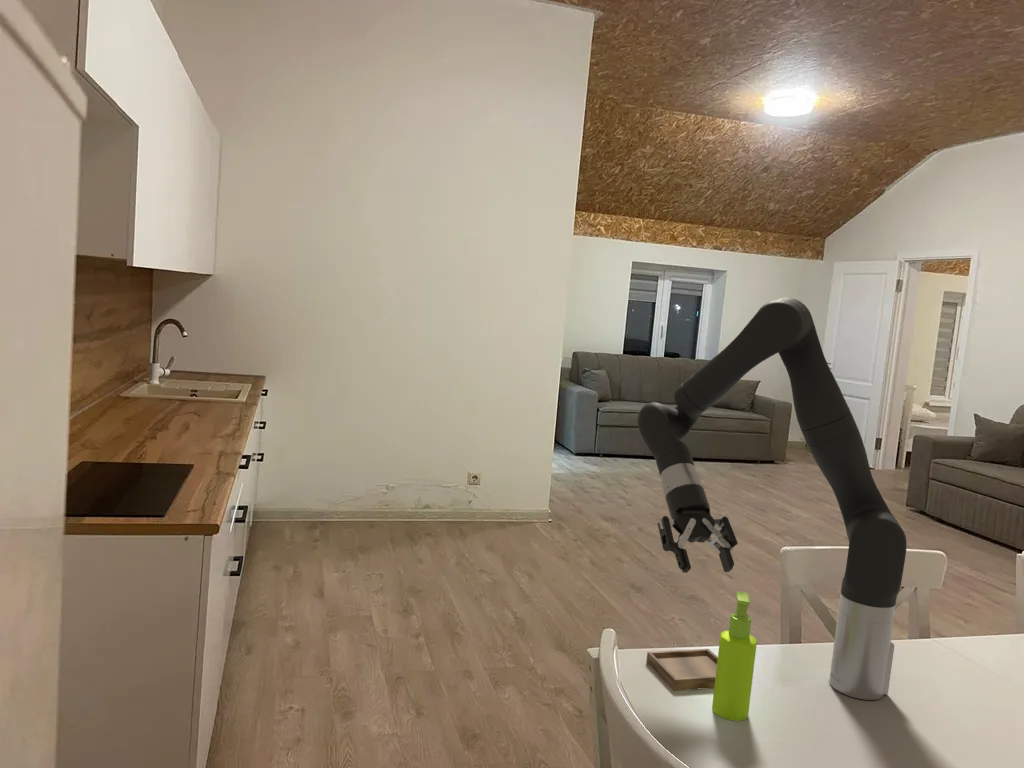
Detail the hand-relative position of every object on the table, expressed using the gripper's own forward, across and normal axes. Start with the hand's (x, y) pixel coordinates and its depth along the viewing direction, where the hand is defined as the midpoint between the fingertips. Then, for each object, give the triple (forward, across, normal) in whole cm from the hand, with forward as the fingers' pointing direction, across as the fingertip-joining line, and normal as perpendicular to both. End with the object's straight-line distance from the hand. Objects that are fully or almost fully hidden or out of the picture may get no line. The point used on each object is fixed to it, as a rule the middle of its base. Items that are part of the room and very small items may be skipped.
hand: (708, 570), depth 142 cm
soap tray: (+13, 0, +16) cm, 20 cm away
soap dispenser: (+22, 0, +7) cm, 23 cm away
